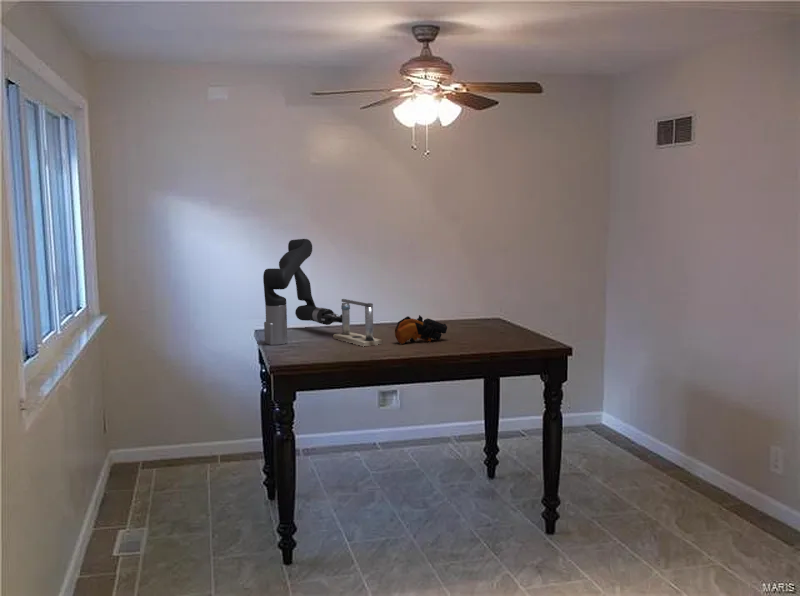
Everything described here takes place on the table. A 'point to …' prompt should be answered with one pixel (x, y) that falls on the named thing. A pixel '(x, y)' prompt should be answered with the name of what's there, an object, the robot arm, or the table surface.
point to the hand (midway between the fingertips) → (342, 320)
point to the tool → (418, 329)
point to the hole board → (357, 339)
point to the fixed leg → (367, 317)
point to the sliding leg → (345, 318)
